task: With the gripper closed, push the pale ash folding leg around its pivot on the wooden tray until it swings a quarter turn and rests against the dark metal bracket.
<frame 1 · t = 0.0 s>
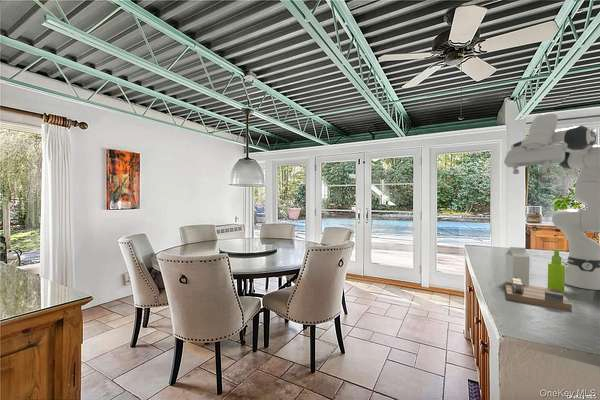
hand: (528, 172, 115), 54 cm above the counter, tool tilted 30°, fingers open, 8 cm apart
wooden tray: (534, 297, 121), on the counter
folding leg: (517, 284, 125), point 4 cm above the counter, hinge at 0.0°
soap dispenser: (557, 292, 130), on the counter
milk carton: (516, 284, 140), on the counter
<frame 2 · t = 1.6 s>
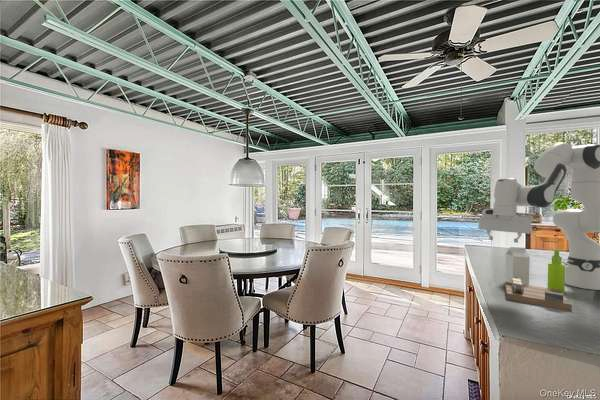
hand: (503, 241, 129), 23 cm above the counter, tool pointing down, fingers open, 8 cm apart
nothing on the counter moved.
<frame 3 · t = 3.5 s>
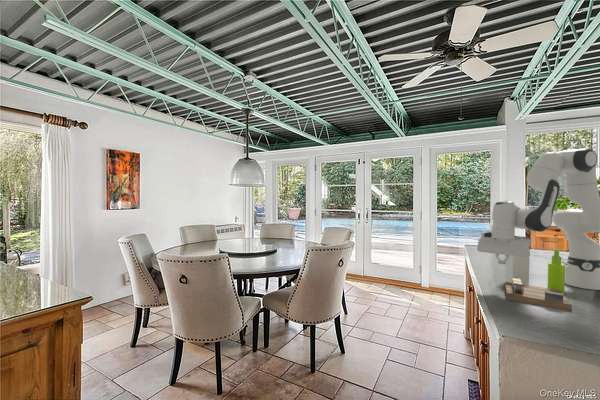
hand: (501, 263, 130), 12 cm above the counter, tool pointing down, fingers closed
nothing on the counter moved.
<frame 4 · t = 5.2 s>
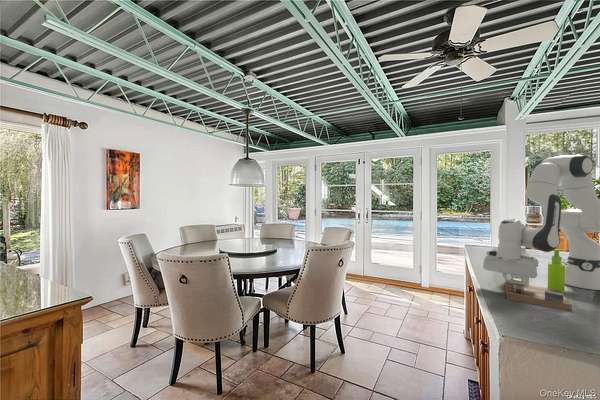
hand: (508, 283, 129), 4 cm above the counter, tool pointing down, fingers closed
folding leg: (517, 284, 125), point 4 cm above the counter, hinge at 0.5°, touching gripper
everything else where it was.
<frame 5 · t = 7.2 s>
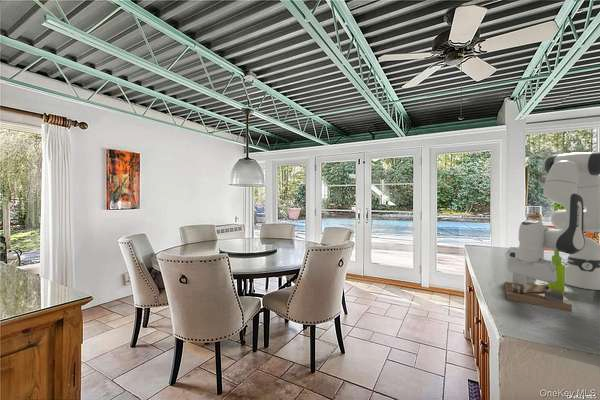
hand: (530, 286, 124), 4 cm above the counter, tool pointing down, fingers closed
folding leg: (530, 287, 121), point 4 cm above the counter, hinge at 42.0°, touching gripper
everything else where it was.
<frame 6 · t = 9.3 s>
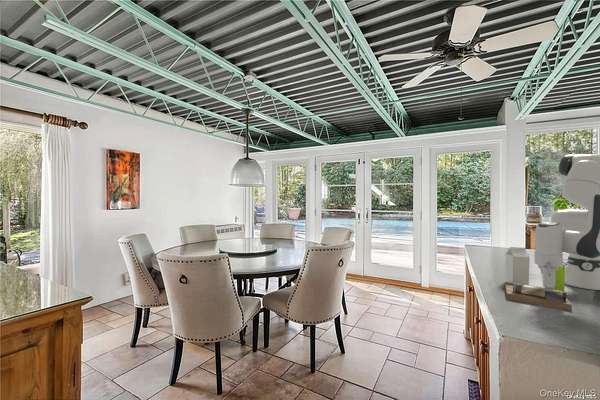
hand: (547, 293, 115), 4 cm above the counter, tool pointing down, fingers closed, pressing on folding leg
folding leg: (538, 291, 115), point 4 cm above the counter, hinge at 91.8°, touching gripper, wooden tray
everything else where it was.
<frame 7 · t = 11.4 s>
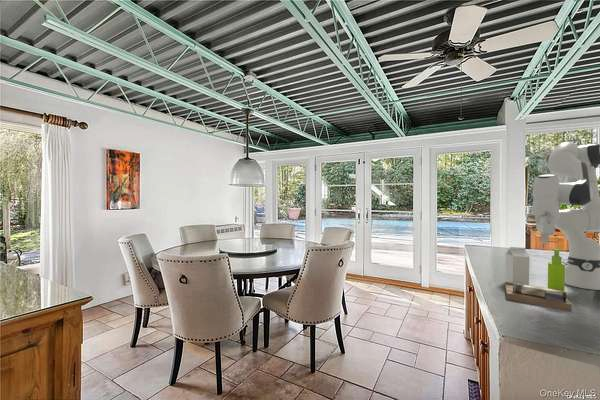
hand: (544, 243, 119), 24 cm above the counter, tool pointing down, fingers closed
folding leg: (538, 291, 115), point 4 cm above the counter, hinge at 91.3°
everything else where it was.
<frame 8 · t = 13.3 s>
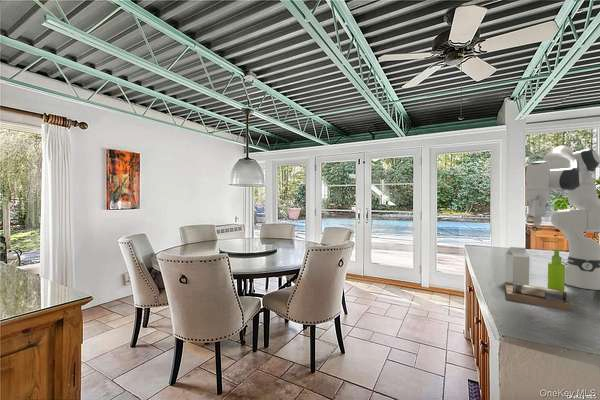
hand: (536, 225, 127), 31 cm above the counter, tool pointing down, fingers closed
nothing on the counter moved.
at the end: folding leg at +91° (first picture: +0°); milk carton moved 0.2 cm from its start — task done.
